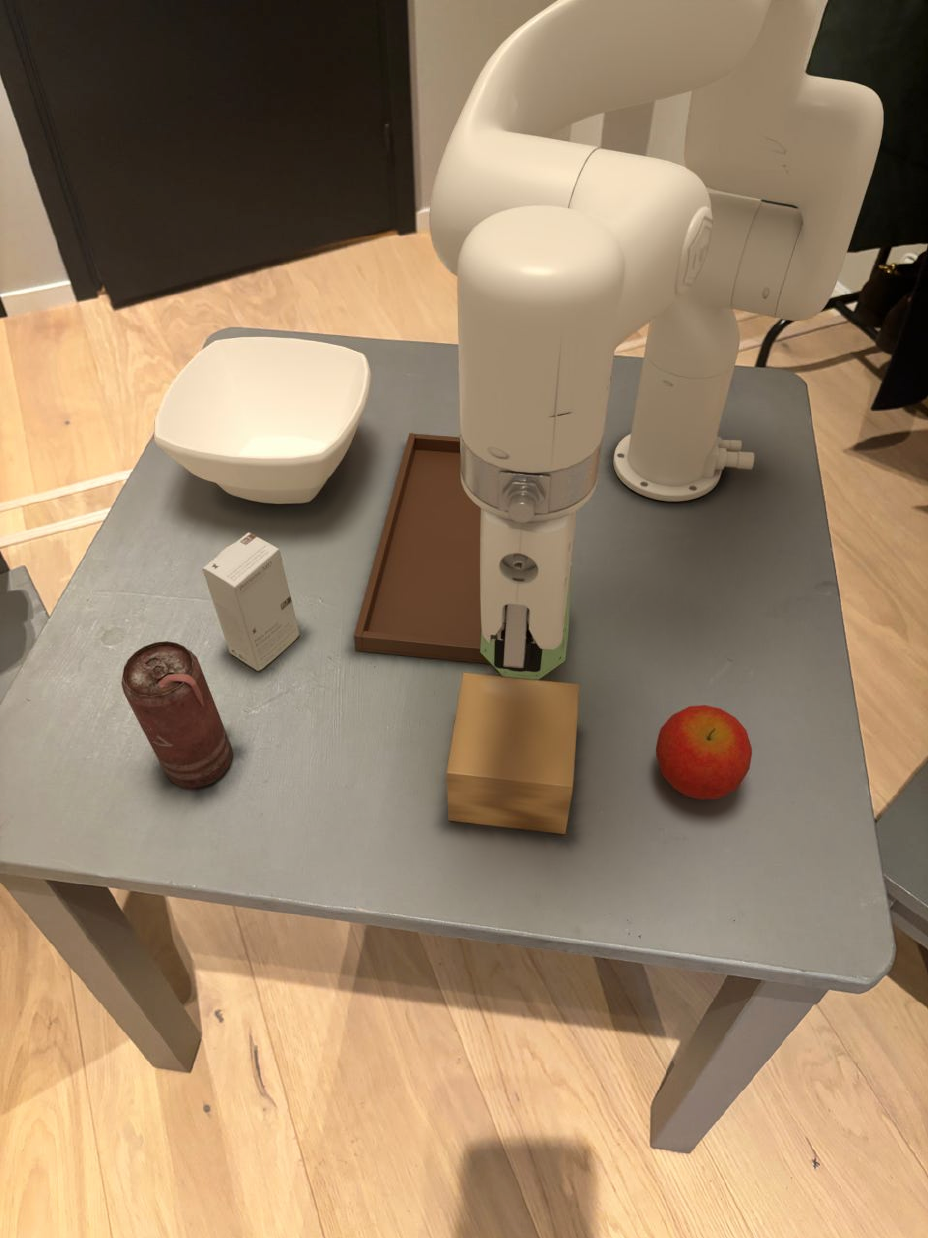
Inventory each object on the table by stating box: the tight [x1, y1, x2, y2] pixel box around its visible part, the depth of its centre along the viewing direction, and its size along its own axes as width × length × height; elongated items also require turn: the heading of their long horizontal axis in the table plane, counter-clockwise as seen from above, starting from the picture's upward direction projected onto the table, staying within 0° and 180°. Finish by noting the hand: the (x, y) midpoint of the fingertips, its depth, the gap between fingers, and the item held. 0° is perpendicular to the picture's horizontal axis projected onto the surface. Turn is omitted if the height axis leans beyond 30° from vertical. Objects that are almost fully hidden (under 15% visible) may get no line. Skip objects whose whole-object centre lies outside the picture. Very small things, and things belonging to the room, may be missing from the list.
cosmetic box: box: [201, 532, 300, 672], centre depth 85 cm, size 6×4×12 cm
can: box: [121, 640, 233, 789], centre depth 76 cm, size 6×6×14 cm
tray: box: [353, 433, 492, 665], centre depth 97 cm, size 18×32×2 cm, turn 172°
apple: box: [655, 704, 753, 800], centre depth 76 cm, size 8×8×8 cm
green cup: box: [480, 565, 573, 680], centre depth 81 cm, size 7×7×14 cm
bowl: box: [153, 336, 372, 505], centre depth 102 cm, size 22×22×12 cm
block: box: [445, 672, 580, 835], centre depth 77 cm, size 10×10×8 cm
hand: (518, 660), depth 62 cm, fingers closed
